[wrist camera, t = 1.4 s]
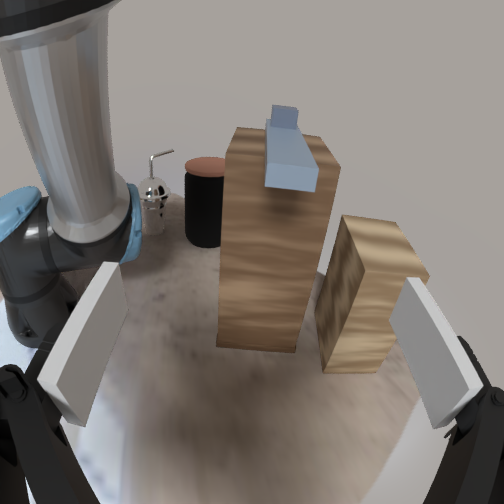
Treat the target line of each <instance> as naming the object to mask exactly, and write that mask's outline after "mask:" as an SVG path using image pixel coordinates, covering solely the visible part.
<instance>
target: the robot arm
mask: <svg viewBox="0 0 504 504" xmlns="http://www.w3.org/2000/svg"><path fill="white" fill-rule="evenodd" d="M120 1H121V0H0V57H1V62H2V66H3V70H4V74H5V77H6V81H7V84H8V88H9V91H10V95H11V98H12V102H13V105H14V108H15V111H16V114H17V117H18V120H19V123H20V126H21V129H22V131H23V134H24V137H25V140H26V142H27V145H28V147H29V150H30V152H31V155H32V158H33V160H34V162H35V165H36V167H37V170H38V172H39V174H40V177H41V179H42V181H43V184H44V186H45V188H46V190H47V192H48V195H49V196H47V197H41V196H42V195H41V192H40V191H39V189H38V188H37V187H34V186H33V187H31V186H27V187H23V188H20V189H17V190H15V191H12V192H10V193H8V194H6V195H4V196H2V197H1V198H0V290H1V292H2V294H3V296H4V299H5V306H6V313H7V319H8V324H9V327H10V330H11V331H12V333H13V335H14V337H15V338H16V339H17V341H18V342H20V343H21V344H22V345H24V346H27V347H30V348H38V350H37V351H36V353H35V355H34V357H33V358H32V360H31V362H30V364H29V366H28V368H27V370H26V372H25V374H24V373H23V371H22V370H21V368H19V367H18V366H17V365H13V364H8V365H4V366H3V367H1V368H0V504H30V503H29V497H28V492H27V486H26V480H27V482H28V485H29V487H30V490H31V492H32V495H33V497H34V499H35V502H36V504H100V502H99V501H98V499H97V497H96V495H95V494H94V492H93V490H92V488H91V486H90V485H89V483H88V481H87V479H86V477H85V475H84V473H83V471H82V469H81V467H80V465H79V463H78V461H77V459H76V457H75V455H74V453H73V451H72V448H71V446H70V444H69V442H68V439H67V437H66V435H65V432H64V430H63V427H62V425H61V424H60V419H61V416H62V415H63V417H64V418H65V419H66V421H67V422H68V423H72V424H75V425H79V426H83V427H85V426H86V423H87V420H88V417H89V414H90V411H91V408H92V405H93V402H94V399H95V396H96V393H97V390H98V387H99V385H100V382H101V379H102V376H103V373H104V371H105V368H106V365H107V363H108V360H109V357H110V355H111V352H112V350H113V347H114V344H115V342H116V339H117V337H118V334H119V332H120V329H121V327H122V325H123V322H124V320H125V317H126V315H127V313H128V310H129V309H128V305H127V300H126V296H125V291H124V286H123V281H122V276H121V271H120V266H119V265H120V264H122V263H123V262H128V261H133V260H135V259H136V258H137V257H138V256H139V254H140V251H141V245H142V232H141V230H142V214H141V202H140V195H139V191H138V188H137V187H136V186H135V185H134V184H128V183H126V182H125V180H124V179H123V178H122V177H121V176H120V175H119V174H118V173H117V172H116V171H115V167H114V159H113V149H112V140H111V128H110V114H109V97H108V70H107V35H108V12H109V10H110V9H112V8H113V7H114V6H115V5H116V4H117V3H119V2H120ZM99 266H101V267H100V268H99V270H98V271H97V273H96V274H95V276H94V278H93V279H92V281H91V282H90V284H89V286H88V287H87V289H86V290H85V292H84V294H83V295H82V297H81V299H80V300H79V298H78V295H77V293H76V292H75V290H74V289H73V288H72V286H71V285H70V284H69V283H68V281H67V280H66V279H65V278H64V276H63V275H62V274H61V272H66V271H73V270H79V269H86V268H92V267H99ZM389 322H390V324H391V326H392V329H393V331H394V333H395V335H396V338H397V340H398V342H399V344H400V347H401V349H402V351H403V354H404V356H405V358H406V361H407V363H408V365H409V368H410V370H411V373H412V375H413V377H414V380H415V382H416V385H417V387H418V390H419V393H420V395H421V398H422V400H423V403H424V406H425V408H426V410H427V414H428V416H429V419H430V422H431V425H432V427H433V429H437V428H440V427H444V426H447V425H448V424H449V423H450V422H451V421H452V420H453V419H454V418H455V419H456V421H457V424H456V425H455V426H454V427H453V428H452V429H451V430H450V431H448V432H447V434H446V435H445V436H444V438H447V437H448V436H449V435H450V434H451V436H450V438H449V442H448V445H447V448H446V451H445V453H444V456H443V459H442V461H441V464H440V466H439V469H438V471H437V474H436V476H435V479H434V481H433V483H432V485H431V487H430V490H429V492H428V494H427V496H426V498H425V500H424V502H423V504H504V391H503V390H502V389H500V388H498V387H492V386H491V384H490V382H489V380H488V378H487V377H486V375H485V373H484V371H483V369H482V367H481V365H480V364H479V362H478V361H477V358H476V356H475V355H474V354H473V351H472V349H471V348H470V346H469V344H468V343H467V342H466V341H465V340H464V339H463V338H462V337H461V336H456V335H455V333H454V331H453V329H452V328H451V326H450V325H449V323H448V321H447V320H446V318H445V317H444V315H443V313H442V312H441V310H440V309H439V307H438V305H437V304H436V302H435V301H434V299H433V297H432V296H431V294H430V293H429V291H428V290H427V288H426V287H425V285H424V284H423V282H422V281H421V279H420V278H416V277H406V280H405V282H404V285H403V287H402V290H401V292H400V295H399V297H398V300H397V302H396V305H395V307H394V309H393V312H392V314H391V316H390V319H389ZM25 477H26V480H25Z"/></svg>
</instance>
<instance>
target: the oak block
mask: <svg viewBox="0 0 504 504" xmlns="http://www.w3.org/2000/svg"><path fill="white" fill-rule="evenodd" d="M406 277H416V278H420V279H421V281H422V282H423V284H424V285H426V283H427V281H428V279H429V277H430V276H429V274H428V272H427V271H426V269H425V267H424V266H423V264H422V262H421V261H420V259H419V258H418V256H417V255H416V253H415V251H414V250H413V248H412V247H411V245H410V243H409V242H408V240H407V239H406V237H405V236H404V234H403V233H402V231H401V230H400V228H399V227H398V225H397V224H396V222H391V221H384V220H378V219H371V218H364V217H357V216H349V215H342V217H341V221H340V225H339V229H338V232H337V237H336V240H335V244H334V247H333V251H332V255H331V258H330V262H329V266H328V269H327V273H326V276H325V279H324V283H323V286H322V290H321V293H320V296H319V300H318V303H317V306H316V309H315V319H316V326H317V332H318V340H319V347H320V354H321V362H322V370H323V373H376V371H377V370H378V368H379V367H380V365H381V364H382V362H383V360H384V359H385V357H386V356H387V354H388V352H389V351H390V349H391V347H392V346H393V344H394V342H395V341H396V339H397V338H396V335H395V333H394V331H393V329H392V326H391V324H390V322H389V319H390V316H391V314H392V312H393V309H394V307H395V305H396V302H397V300H398V297H399V295H400V292H401V290H402V287H403V285H404V282H405V280H406Z"/></svg>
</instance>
